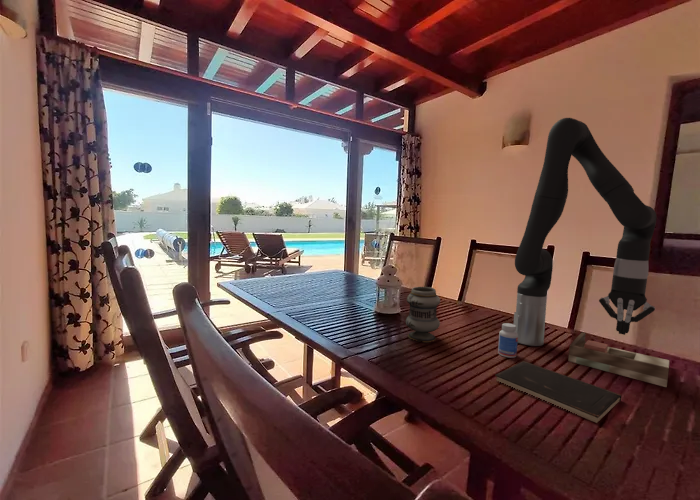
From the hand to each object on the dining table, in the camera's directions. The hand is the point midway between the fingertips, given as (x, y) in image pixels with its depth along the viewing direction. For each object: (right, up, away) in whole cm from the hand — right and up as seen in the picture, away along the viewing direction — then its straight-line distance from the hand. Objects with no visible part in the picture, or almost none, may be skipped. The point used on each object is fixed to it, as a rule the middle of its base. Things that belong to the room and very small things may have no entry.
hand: (622, 333), depth 97 cm
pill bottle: (-29, -9, +10) cm, 32 cm away
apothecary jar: (-53, -8, +24) cm, 59 cm away
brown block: (-5, -8, +4) cm, 10 cm away
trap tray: (+2, -10, +4) cm, 11 cm away
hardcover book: (-27, -12, -12) cm, 32 cm away
